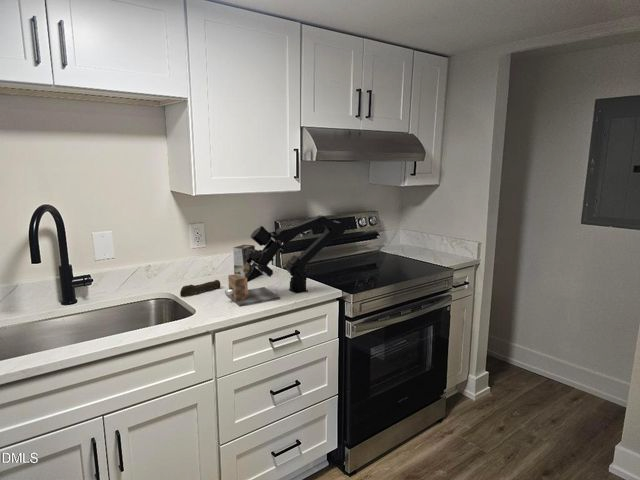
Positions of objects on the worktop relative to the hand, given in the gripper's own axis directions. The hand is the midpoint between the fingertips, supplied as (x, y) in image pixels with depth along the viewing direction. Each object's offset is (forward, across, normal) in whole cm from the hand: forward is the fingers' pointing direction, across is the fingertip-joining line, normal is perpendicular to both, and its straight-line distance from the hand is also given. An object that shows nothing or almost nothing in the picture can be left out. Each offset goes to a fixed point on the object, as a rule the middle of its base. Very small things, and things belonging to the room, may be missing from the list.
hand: (245, 281), depth 178 cm
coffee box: (-2, -29, +13) cm, 32 cm away
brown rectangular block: (+7, 0, +1) cm, 7 cm away
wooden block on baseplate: (+3, 0, +7) cm, 8 cm away
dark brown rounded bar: (+15, -17, -5) cm, 24 cm away
